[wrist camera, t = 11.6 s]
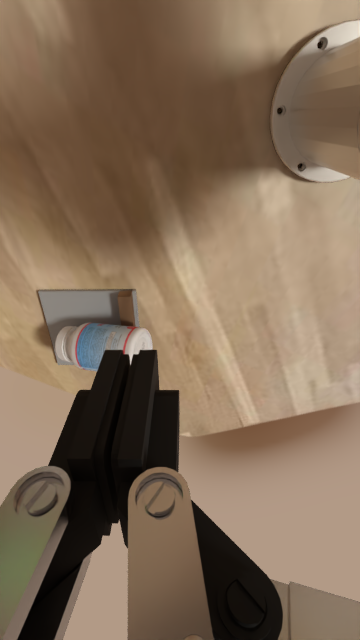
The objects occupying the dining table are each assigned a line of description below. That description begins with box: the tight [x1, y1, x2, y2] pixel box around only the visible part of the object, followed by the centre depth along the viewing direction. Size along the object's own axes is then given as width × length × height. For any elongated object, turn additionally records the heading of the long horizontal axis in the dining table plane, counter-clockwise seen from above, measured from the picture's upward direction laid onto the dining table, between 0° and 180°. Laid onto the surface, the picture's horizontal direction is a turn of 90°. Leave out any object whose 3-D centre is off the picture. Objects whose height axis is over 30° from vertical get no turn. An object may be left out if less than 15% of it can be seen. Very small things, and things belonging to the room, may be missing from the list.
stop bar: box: [118, 290, 136, 327], centre depth 44 cm, size 2×12×2 cm, turn 1°
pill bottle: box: [55, 323, 152, 372], centre depth 41 cm, size 6×6×11 cm
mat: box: [38, 290, 139, 365], centre depth 45 cm, size 12×12×1 cm
